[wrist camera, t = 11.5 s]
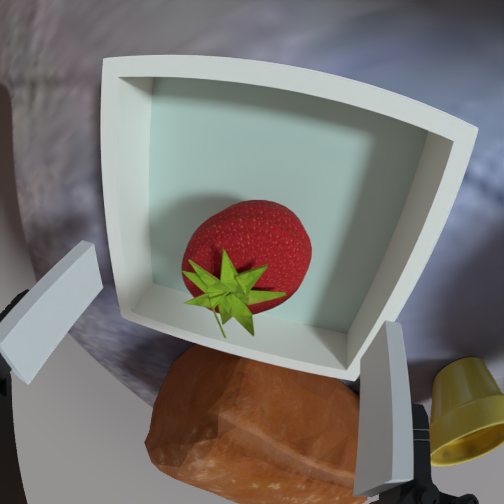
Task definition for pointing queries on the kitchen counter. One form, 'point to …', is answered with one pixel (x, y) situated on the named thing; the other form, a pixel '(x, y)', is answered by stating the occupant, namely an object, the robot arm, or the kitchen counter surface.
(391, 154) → the serving bin
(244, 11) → the kitchen counter surface
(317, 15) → the kitchen counter surface
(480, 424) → the plant pot
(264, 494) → the bread
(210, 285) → the strawberry
